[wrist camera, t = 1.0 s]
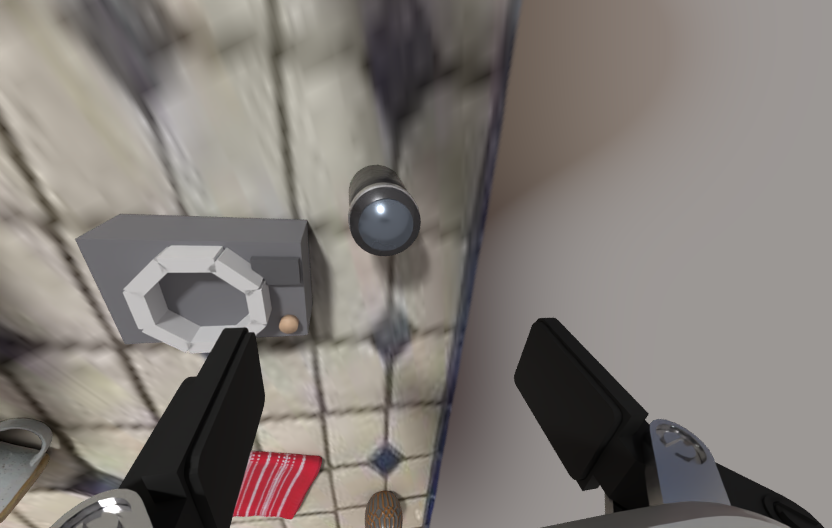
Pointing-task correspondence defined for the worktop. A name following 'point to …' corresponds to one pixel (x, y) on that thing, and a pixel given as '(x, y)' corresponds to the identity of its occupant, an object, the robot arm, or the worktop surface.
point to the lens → (382, 212)
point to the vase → (383, 511)
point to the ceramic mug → (21, 463)
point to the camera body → (201, 277)
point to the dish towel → (275, 484)
